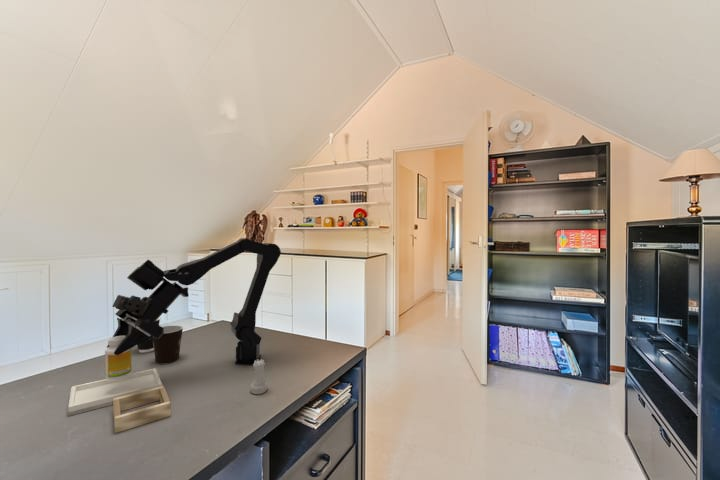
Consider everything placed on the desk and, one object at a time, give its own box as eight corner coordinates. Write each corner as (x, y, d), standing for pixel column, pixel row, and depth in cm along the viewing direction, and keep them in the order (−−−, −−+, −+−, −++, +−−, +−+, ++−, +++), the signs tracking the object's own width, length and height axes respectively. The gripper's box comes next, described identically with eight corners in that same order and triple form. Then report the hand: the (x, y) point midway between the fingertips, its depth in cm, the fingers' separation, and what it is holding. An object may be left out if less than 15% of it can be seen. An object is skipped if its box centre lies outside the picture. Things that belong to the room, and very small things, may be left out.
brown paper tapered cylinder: (172, 365, 98) (172, 333, 97) (144, 365, 98) (145, 333, 97) (192, 351, 109) (193, 323, 109) (168, 350, 109) (168, 322, 109)
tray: (155, 374, 91) (155, 368, 91) (161, 391, 82) (162, 384, 82) (71, 394, 80) (71, 386, 80) (68, 416, 71) (68, 407, 71)
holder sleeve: (163, 397, 79) (163, 385, 79) (170, 415, 72) (170, 402, 71) (113, 411, 73) (113, 398, 73) (114, 433, 65) (114, 418, 65)
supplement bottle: (136, 373, 82) (135, 336, 82) (112, 382, 77) (112, 342, 77) (123, 369, 84) (123, 333, 84) (100, 377, 80) (100, 339, 79)
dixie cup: (161, 344, 115) (161, 314, 115) (159, 352, 108) (159, 320, 108) (135, 347, 111) (135, 317, 111) (131, 355, 104) (131, 323, 104)
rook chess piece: (270, 388, 85) (271, 359, 85) (260, 396, 81) (261, 365, 81) (257, 385, 87) (257, 356, 86) (246, 393, 82) (246, 362, 82)
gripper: (123, 279, 89) (72, 327, 81) (149, 287, 78) (92, 344, 69) (155, 302, 96) (110, 348, 87) (183, 312, 84) (135, 367, 76)
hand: (111, 351), depth 80 cm, fingers closed on supplement bottle, 5 cm apart
